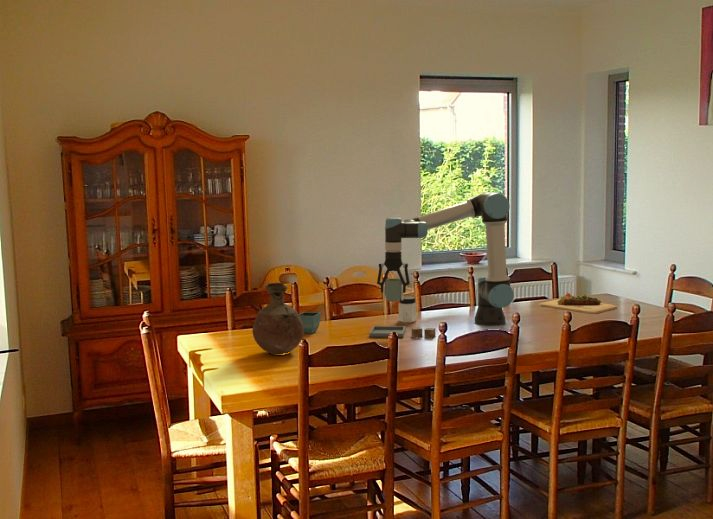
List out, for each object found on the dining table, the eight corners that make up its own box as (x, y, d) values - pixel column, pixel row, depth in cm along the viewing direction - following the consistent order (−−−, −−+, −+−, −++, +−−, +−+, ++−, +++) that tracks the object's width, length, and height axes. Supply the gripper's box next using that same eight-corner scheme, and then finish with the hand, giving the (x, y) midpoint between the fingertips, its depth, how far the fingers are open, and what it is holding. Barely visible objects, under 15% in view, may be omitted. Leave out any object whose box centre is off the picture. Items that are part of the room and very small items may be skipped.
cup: (400, 302, 354) (400, 281, 353) (383, 302, 356) (383, 280, 354) (402, 299, 362) (402, 278, 360) (386, 299, 363) (386, 278, 362)
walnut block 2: (435, 336, 352) (435, 328, 352) (432, 338, 349) (432, 330, 348) (427, 336, 354) (427, 327, 354) (424, 338, 350) (424, 329, 350)
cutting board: (537, 306, 421) (537, 293, 420) (562, 301, 436) (562, 288, 435) (593, 315, 394) (593, 300, 394) (618, 309, 409) (618, 295, 408)
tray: (405, 330, 367) (405, 326, 366) (403, 337, 351) (403, 333, 351) (373, 330, 369) (373, 326, 369) (369, 337, 354) (369, 333, 353)
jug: (261, 362, 314) (258, 289, 310) (247, 350, 334) (244, 282, 330) (311, 355, 323) (309, 285, 319) (294, 345, 342) (292, 278, 338)
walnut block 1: (419, 335, 356) (419, 327, 355) (422, 337, 352) (422, 328, 351) (411, 336, 355) (411, 327, 354) (414, 338, 351) (413, 329, 350)
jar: (398, 322, 385) (398, 299, 383) (398, 319, 393) (398, 296, 391) (416, 322, 384) (416, 298, 383) (416, 319, 392) (416, 296, 391)
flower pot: (297, 333, 365) (296, 315, 364) (304, 329, 373) (304, 311, 372) (314, 334, 362) (313, 316, 361) (321, 330, 370) (320, 312, 369)
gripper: (416, 250, 358) (415, 298, 361) (372, 249, 361) (372, 297, 364) (415, 252, 351) (414, 301, 353) (370, 251, 354) (370, 300, 356)
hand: (393, 299), depth 359 cm, fingers closed on cup, 8 cm apart
